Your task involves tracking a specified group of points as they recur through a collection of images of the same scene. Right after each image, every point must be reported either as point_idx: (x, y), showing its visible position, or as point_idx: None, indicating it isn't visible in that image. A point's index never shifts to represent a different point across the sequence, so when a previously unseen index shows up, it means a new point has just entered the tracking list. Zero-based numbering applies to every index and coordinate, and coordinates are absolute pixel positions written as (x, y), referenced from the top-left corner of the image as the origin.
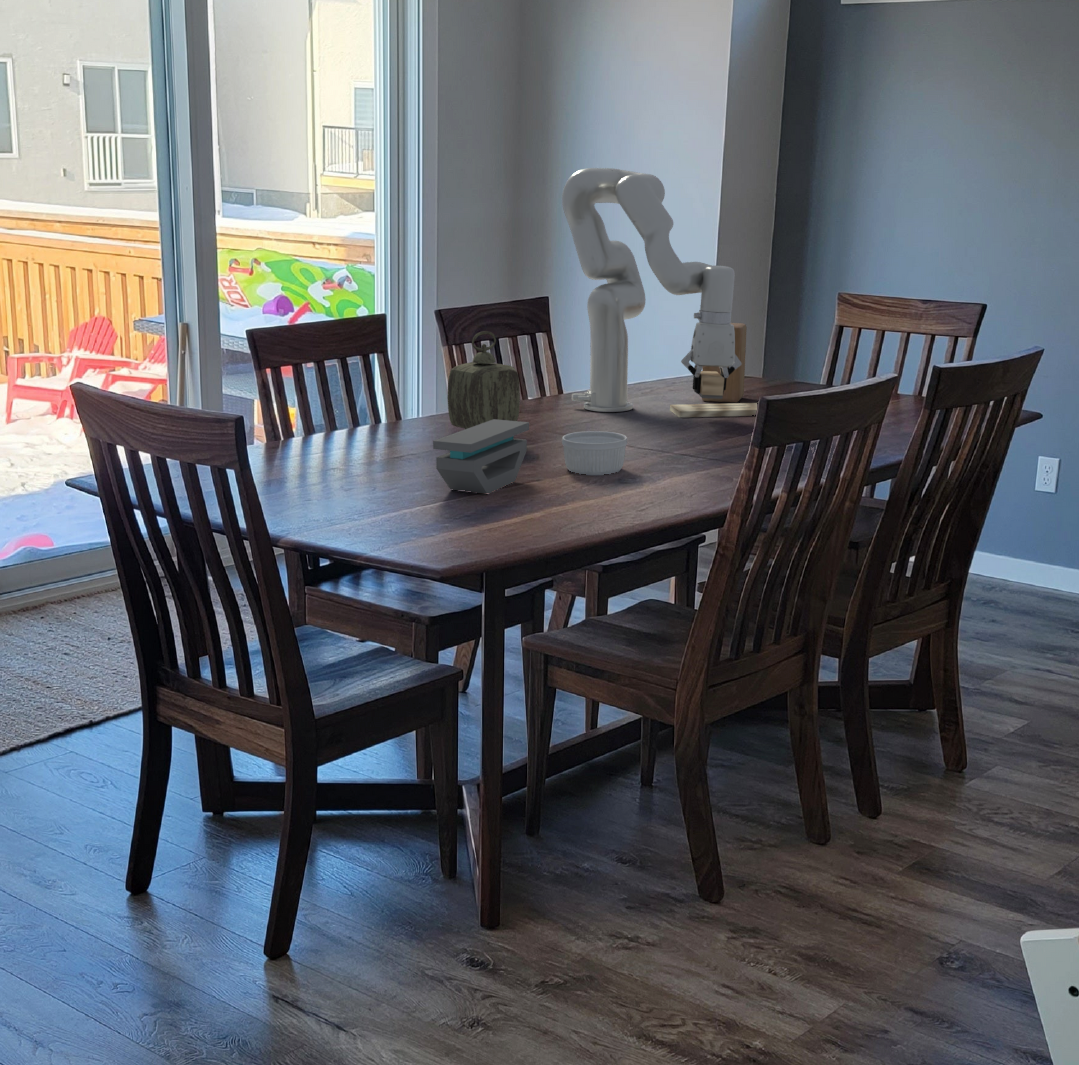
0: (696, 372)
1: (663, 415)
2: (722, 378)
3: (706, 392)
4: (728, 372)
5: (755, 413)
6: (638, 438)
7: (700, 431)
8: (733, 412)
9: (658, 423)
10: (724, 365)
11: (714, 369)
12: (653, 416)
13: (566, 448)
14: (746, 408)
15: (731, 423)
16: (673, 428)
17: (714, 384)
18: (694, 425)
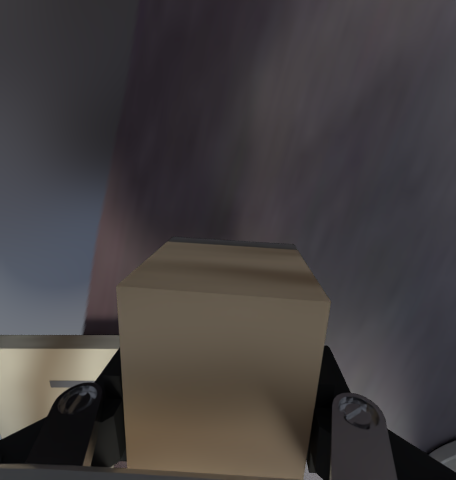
0: (379, 434)
1: (353, 375)
2: (135, 285)
3: (273, 252)
4: (40, 438)
5: (44, 339)
6: None
7: (330, 31)
8: (119, 343)
9: (431, 239)
10: (26, 470)
11: None
12: (392, 363)
13: None
14: (65, 373)
15: (156, 207)
16: (419, 122)
17: (217, 269)
18: (309, 181)
